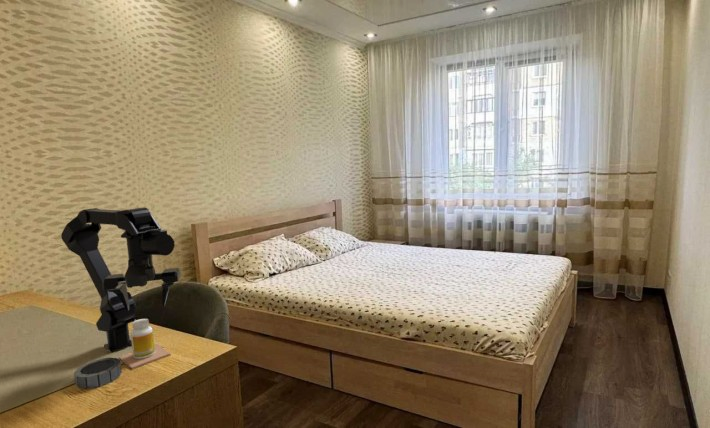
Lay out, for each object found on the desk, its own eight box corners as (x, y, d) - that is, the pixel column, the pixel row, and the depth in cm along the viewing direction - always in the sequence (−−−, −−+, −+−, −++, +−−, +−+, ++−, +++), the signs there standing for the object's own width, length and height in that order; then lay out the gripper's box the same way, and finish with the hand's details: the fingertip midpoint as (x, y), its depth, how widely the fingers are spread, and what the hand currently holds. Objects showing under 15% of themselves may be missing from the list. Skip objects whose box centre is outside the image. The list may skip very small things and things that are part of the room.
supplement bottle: (158, 353, 113) (154, 320, 112) (137, 361, 109) (133, 326, 108) (150, 348, 117) (146, 316, 116) (130, 355, 113) (126, 322, 112)
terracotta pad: (118, 358, 113) (118, 356, 113) (156, 345, 120) (155, 343, 120) (132, 369, 106) (131, 367, 106) (170, 354, 114) (170, 353, 114)
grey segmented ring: (71, 380, 102) (70, 368, 102) (114, 364, 109) (112, 354, 109) (82, 393, 96) (80, 381, 95) (126, 376, 103) (125, 365, 102)
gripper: (91, 264, 102) (99, 323, 104) (171, 256, 107) (177, 313, 109) (105, 254, 113) (112, 309, 115) (178, 248, 118) (183, 300, 120)
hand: (146, 308), depth 114 cm, fingers open, 9 cm apart
